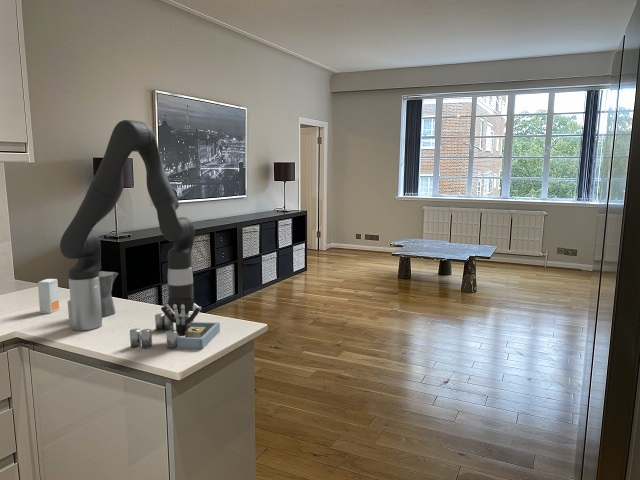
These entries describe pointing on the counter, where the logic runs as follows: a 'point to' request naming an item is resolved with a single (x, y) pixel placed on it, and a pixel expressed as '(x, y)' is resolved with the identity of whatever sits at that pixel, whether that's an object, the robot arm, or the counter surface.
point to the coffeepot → (106, 292)
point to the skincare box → (48, 295)
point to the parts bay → (200, 343)
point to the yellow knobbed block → (195, 332)
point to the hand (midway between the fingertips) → (182, 335)
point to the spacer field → (161, 324)
